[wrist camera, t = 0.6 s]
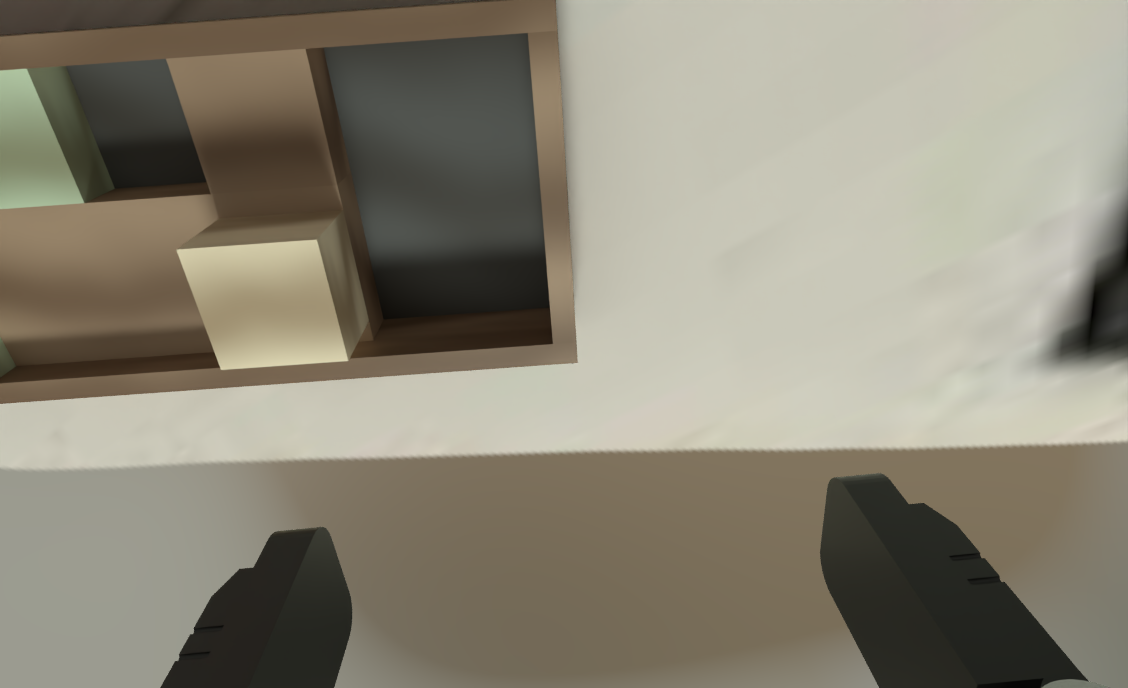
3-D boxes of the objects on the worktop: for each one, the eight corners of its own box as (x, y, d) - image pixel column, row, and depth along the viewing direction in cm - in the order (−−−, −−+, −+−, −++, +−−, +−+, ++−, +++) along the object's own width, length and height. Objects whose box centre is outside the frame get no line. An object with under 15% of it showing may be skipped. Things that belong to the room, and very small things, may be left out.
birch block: (219, 218, 26) (176, 249, 23) (343, 209, 26) (316, 239, 23) (255, 328, 28) (221, 370, 25) (368, 320, 28) (348, 361, 25)
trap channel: (-124, 44, 25) (-232, 53, 21) (553, -5, 25) (555, -3, 21) (41, 358, 32) (-21, 405, 28) (573, 321, 32) (577, 362, 28)
